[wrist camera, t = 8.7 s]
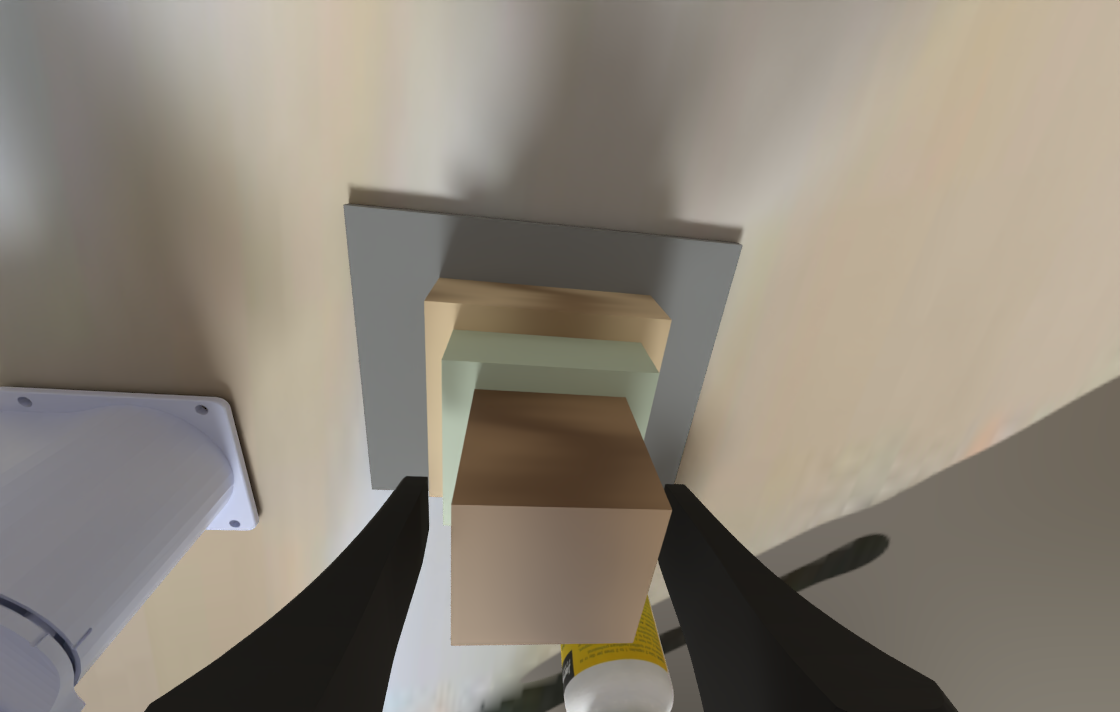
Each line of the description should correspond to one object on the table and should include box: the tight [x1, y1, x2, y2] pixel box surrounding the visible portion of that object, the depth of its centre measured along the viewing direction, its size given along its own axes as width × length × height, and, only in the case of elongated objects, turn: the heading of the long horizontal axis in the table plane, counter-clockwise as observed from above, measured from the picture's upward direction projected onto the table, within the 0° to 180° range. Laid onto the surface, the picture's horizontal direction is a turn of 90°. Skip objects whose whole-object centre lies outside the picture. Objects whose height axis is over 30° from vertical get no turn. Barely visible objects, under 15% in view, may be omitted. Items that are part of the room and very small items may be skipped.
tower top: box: [442, 329, 660, 526], centre depth 16 cm, size 7×7×2 cm
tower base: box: [424, 278, 672, 497], centre depth 19 cm, size 9×9×3 cm
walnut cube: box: [451, 389, 672, 646], centre depth 13 cm, size 5×5×5 cm
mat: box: [344, 204, 742, 491], centre depth 20 cm, size 16×14×1 cm
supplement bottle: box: [561, 594, 674, 712], centre depth 23 cm, size 5×5×10 cm
